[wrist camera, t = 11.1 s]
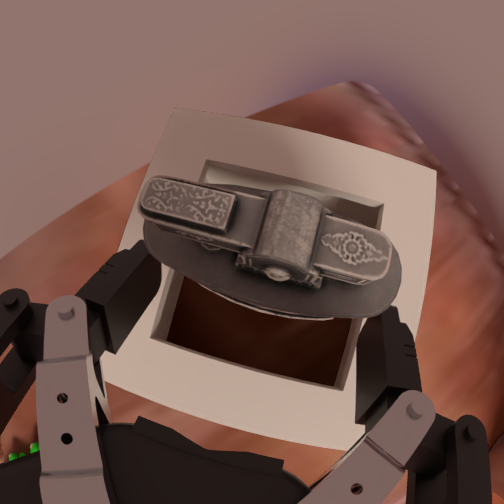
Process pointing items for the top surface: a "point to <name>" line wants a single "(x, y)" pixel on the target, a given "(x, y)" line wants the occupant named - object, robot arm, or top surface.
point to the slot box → (272, 178)
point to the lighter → (270, 249)
